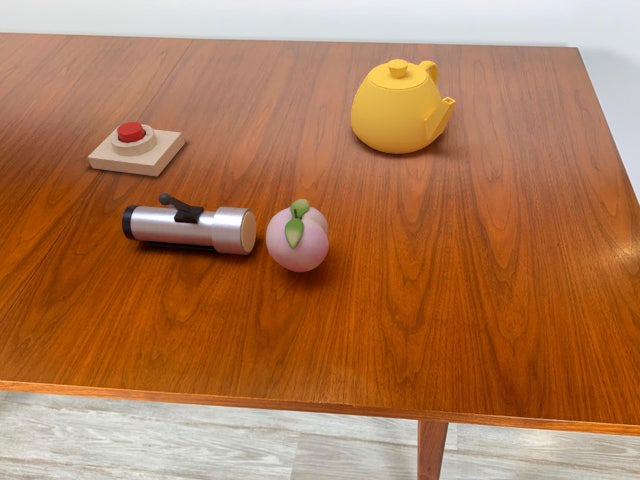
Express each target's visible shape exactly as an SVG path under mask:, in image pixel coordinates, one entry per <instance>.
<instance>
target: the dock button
mask: <svg viewBox="0 0 640 480" xmlns="http://www.w3.org/2000/svg"><path fill="white" fill-rule="evenodd" d="M141 124H142V123H140V122H138V121H129V122H124V123H122V124H121V125H120V126H119V125H118V126H119V127H118V126H117V127H118V128H117V127H116V128H117V133H118V135H119V138H120V140H121V142H123V143H131V142H137V141H139V140H141V139H143V138H144V136H145V133H144V130H143V127H142V125H141Z"/></svg>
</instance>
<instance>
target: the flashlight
mask: <svg viewBox="0 0 640 480" xmlns="http://www.w3.org/2000/svg"><path fill="white" fill-rule="evenodd" d="M190 206H191V209H190V213H184V212H180V211H178V210H176V209H174V208H171V207H160V206H159V207H157V206H145V205H141V204H129V205H128V206H126V207H125V209H124V211H123V213H122V216H121V229H122V233H123V235H124V236H125V238H126V239H127V240H129V241H146V242H147V241H148V242H147V246H148V248H149V249H161V250H171V251H172V250H173V251H182V252H196V253H207V254H216V252H217V253H218V254H219V253H220V254H221V253H222V254H231V255H243V256H248V255H250V254H251V252H252V251H253V248H254V246H255V243H256V238H257V219H256V215H255V213H254V211H253V210H252V209H251V208H248V207H246V208H244V207H233V206H232V207H231V206H219V207H218V208H217V209H216V210H215V211H208V210H205V209H204V206H198V205H190Z"/></svg>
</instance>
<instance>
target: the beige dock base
mask: <svg viewBox="0 0 640 480" xmlns="http://www.w3.org/2000/svg"><path fill="white" fill-rule="evenodd" d="M140 124H141V125H142V127H143V130H144V133H145V136H144V138H143V139H141V140H139V141H137V142H131V143H123V142H121V140H120V138H119V135H118V133H117V128H118V127H119V126H120V125H118V126H116V127H115V129H114V130H113V131H111V133H110V134H109V135H108V136H107V137H106V138H105V139H104V140H103V141H102V142H101V143H100V144H99V145H98V146H96V148H95V149H94V150H93V151H91V153H89V155H88V156H87V159H88V162H89V164H90V167H91V168H92V169H96V170H105V171H111V172H118V173H119V172H120V173H127V174H134V175H142V176H150V177H159V175H160V174H161V173H162V172H163V171H164V169H165V168H166V167H167V166H168V165H169V163H170V162H171V161H172V160H173V158H174V157H175V156H176V155H177V154H178V152H179V151H180V150H181V149H182V148H183V146H184V145H185V143H186V142H185V139H184V137H183V133H182V132H179V131H171V130H163V129H156V128H155V129H154V128H153V127H151V126H149V125H148V124H142V123H140Z"/></svg>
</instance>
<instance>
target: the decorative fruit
mask: <svg viewBox="0 0 640 480" xmlns="http://www.w3.org/2000/svg"><path fill="white" fill-rule="evenodd" d="M328 224H329V223H328V221H327V218H326V217H325V216H324V214H323V213H322V212H320V211H319V209H317V208H315V207H313V206H311V205H310V202H309V200H307V199H305V198H299V199H296V200H295V201H293V202H292V203H291V204H290V205H289V207H287V208H285V209H282V210H280V211H278V212H277V213H276V214H275V215H274V216H273V217H272V218H271V219H270V221H269V222H268V225H267V227H266V232H265V244H266V248H267V252H268V253H269V255H270V257H271V258H272V259H273V261H275V262H276V263H277V264H278V265H279V266H281V267H283V268H285V269H287V270H288V271H292V272H296V273H306V272H309V271H312V270H314V269H316V268H317V267H319V266H320V265H321V264H322V263H323V262H324V260H325V259H326V257H327V254H328V252H329V249H330V248H329V247H330V242H329V238H328V236H329V225H328Z"/></svg>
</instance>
